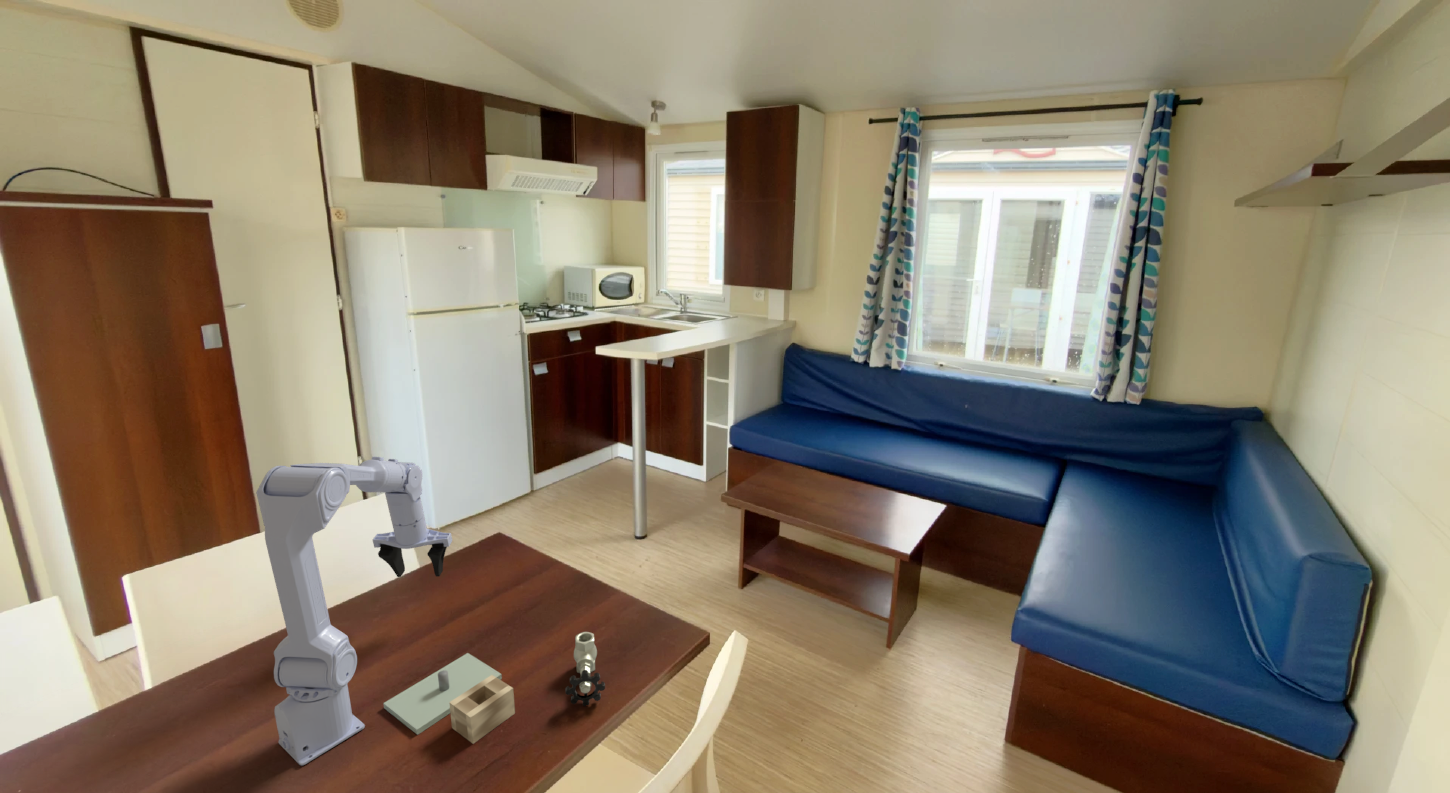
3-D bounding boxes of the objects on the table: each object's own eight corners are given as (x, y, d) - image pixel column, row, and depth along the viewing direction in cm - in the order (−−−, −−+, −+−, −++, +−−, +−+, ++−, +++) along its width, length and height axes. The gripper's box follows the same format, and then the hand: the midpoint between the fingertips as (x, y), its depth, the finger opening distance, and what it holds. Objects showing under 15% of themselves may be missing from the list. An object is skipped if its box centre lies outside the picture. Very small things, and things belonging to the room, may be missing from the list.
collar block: (473, 743, 99) (470, 717, 98) (452, 728, 102) (449, 702, 101) (515, 713, 106) (513, 688, 104) (494, 699, 109) (491, 674, 107)
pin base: (417, 734, 101) (414, 713, 100) (384, 708, 106) (381, 688, 105) (501, 678, 114) (500, 659, 113) (468, 657, 119) (466, 639, 118)
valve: (568, 663, 118) (566, 709, 107) (566, 632, 117) (564, 676, 105) (603, 658, 120) (605, 703, 108) (602, 628, 118) (604, 671, 107)
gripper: (453, 505, 127) (463, 560, 132) (379, 506, 126) (392, 561, 131) (439, 526, 120) (451, 583, 126) (362, 527, 119) (376, 584, 125)
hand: (420, 573), depth 128 cm, fingers open, 7 cm apart
